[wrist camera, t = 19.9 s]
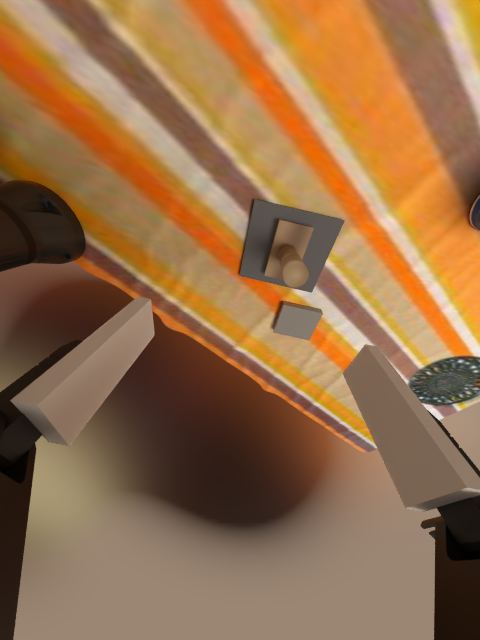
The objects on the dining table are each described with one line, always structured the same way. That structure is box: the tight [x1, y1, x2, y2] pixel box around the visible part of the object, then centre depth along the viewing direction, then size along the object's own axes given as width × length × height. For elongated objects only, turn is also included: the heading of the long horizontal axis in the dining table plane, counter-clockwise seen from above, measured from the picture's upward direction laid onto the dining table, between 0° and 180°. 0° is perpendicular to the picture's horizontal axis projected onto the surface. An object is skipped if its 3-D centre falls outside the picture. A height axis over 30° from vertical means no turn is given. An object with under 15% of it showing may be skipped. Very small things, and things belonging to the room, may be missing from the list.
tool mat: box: [239, 199, 345, 292], centre depth 36 cm, size 16×14×1 cm
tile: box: [273, 301, 323, 340], centre depth 44 cm, size 2×8×9 cm
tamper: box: [264, 219, 314, 288], centre depth 30 cm, size 6×10×14 cm, turn 169°
